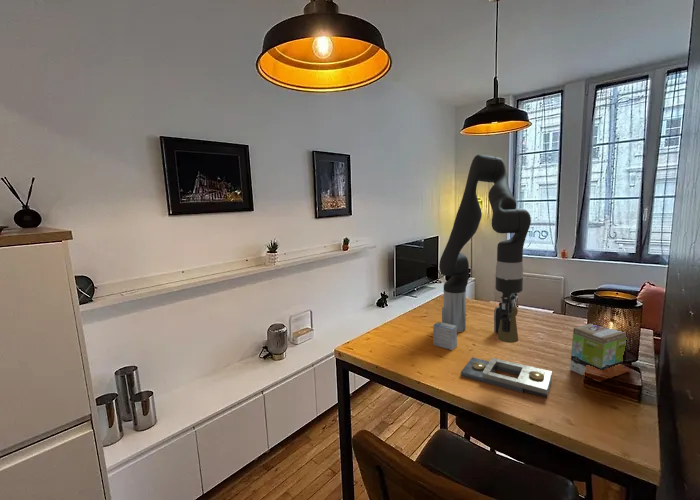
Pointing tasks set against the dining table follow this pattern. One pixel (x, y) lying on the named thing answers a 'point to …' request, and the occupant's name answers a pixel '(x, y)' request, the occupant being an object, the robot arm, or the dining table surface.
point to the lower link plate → (477, 368)
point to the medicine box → (445, 335)
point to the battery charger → (496, 319)
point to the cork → (512, 335)
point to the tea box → (596, 348)
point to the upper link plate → (521, 377)
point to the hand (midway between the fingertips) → (507, 328)
